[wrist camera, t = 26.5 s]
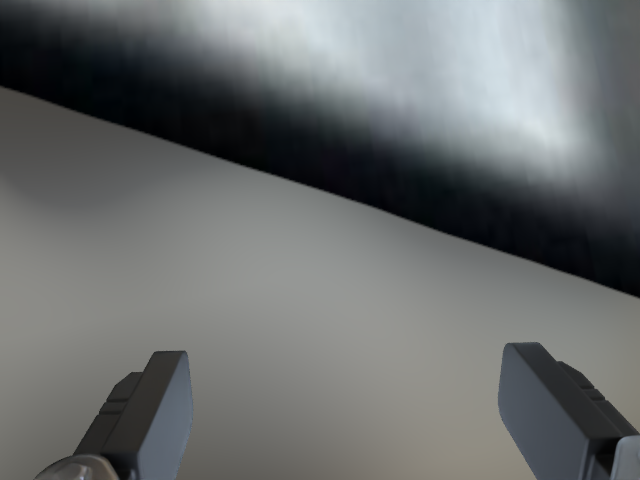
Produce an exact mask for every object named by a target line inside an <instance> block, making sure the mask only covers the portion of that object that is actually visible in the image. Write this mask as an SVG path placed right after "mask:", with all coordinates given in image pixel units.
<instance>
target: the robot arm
mask: <svg viewBox="0 0 640 480" xmlns="http://www.w3.org/2000/svg"><path fill="white" fill-rule="evenodd" d="M498 406H499V412H500V415H501V418H502V421H503V422H504V424H505V426H506V428H507V430H508V431H509V433H510V435H511V436H512V438H513V440H514V441H515V443H516V444H517V446H518V448H519V450H520V451H521V453H522V455H523V456H524V458H525V460H526V462H527V463H528V465H529V467H530V468H531V470H532V472H533V473H534V475H535V477H536V478H537V480H640V434H639V432H638V431H637V430H636V429H635V428H634V427H633V426H632V425H631V424H630V423H629V422H628V421H627V420H626V419H625V418H624V417H623V416H622V415H621V414H620V413H619V412H618V411H617V410H616V409H615V407H614V406H613V405H612V404H611V403H610V402H609V401H606V400H605V397H604V396H603V395H602V394H601V393H600V392H599V391H598V390H597V389H594V386H593V385H592V384H591V382H590V381H589V380H588V379H587V378H586V377H585V376H584V375H583V374H582V373H581V372H579V371H577V370H576V369H574V368H572V367H570V366H569V365H567V364H565V363H564V362H562V361H558V362H557V361H556V360H555V359H554V358H553V357H552V356H551V355H550V354H549V353H548V352H547V351H546V349H545V348H544V347H543V346H542V345H541V344H540V343H537V342H530V343H529V342H528V343H507V344H506V345H505V347H504V351H503V358H502V366H501V375H500V383H499V392H498ZM192 420H193V401H192V391H191V382H190V371H189V362H188V355H187V353H186V351H157V352H154V353H153V355H152V357H151V358H150V360H149V362H148V364H147V366H146V367H145V369H144V371H143V372H131V373H130V374H129V375H128V376H126V377H125V378H124V379H123V380H121V381H120V382H119V383H118V384H116V385H115V387H114V388H113V390H112V392H111V393H110V395H109V396H108V398H107V401H106V402H105V403H104V404H103V406H102V408H101V409H100V411H99V415H97V416H96V417H95V419H94V421H93V423H92V424H91V426H90V427H89V429H88V431H87V432H86V434H85V436H84V437H83V439H82V440H81V442H80V444H79V445H78V447H77V449H76V450H75V452H74V453H73V455H72V456H69V457H66V458H63V459H61V460H59V461H57V462H55V463H53V464H51V465H50V466H48V467H47V468H45V469H44V470H43V471H42V472H40V473H39V474H38V475H37V476H36V477H35V479H34V480H175V478H176V475H177V472H178V469H179V466H180V463H181V459H182V456H183V453H184V450H185V447H186V444H187V441H188V437H189V434H190V431H191V426H192Z"/></svg>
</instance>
